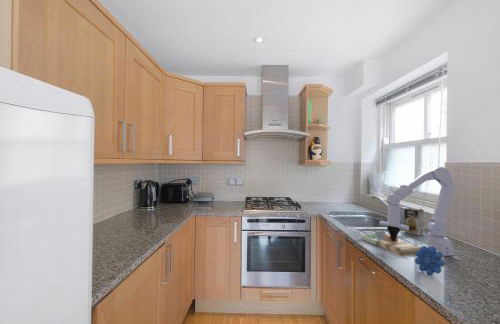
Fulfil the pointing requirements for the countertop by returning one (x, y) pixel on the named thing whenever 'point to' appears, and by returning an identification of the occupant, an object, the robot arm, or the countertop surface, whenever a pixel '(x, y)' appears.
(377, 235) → the slate tile
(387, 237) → the terracotta tile
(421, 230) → the coffee box
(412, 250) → the birch board
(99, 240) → the countertop surface
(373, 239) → the tray
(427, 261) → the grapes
